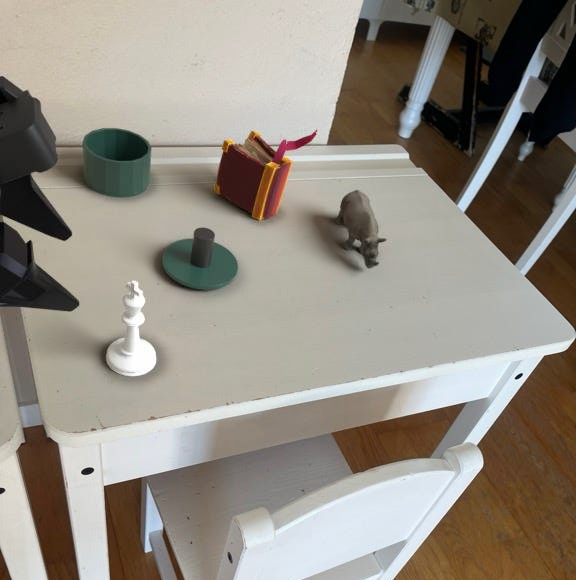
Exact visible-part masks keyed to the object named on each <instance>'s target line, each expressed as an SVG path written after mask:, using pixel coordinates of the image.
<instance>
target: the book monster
mask: <svg viewBox="0 0 576 580" xmlns="http://www.w3.org/2000/svg"><path fill="white" fill-rule="evenodd" d="M318 131H319V130H318V129H315V130H314V131H313V132H312V134H309V135H306V136H303V137H301V138H298V139H296V140H288V141H287V139H286V138H285V139H282V140H281V142H280V144H279V146H278V148H277V150H275V149H274V148H272V147H271V146H270V144H268V143H267V142H266V141H265V140H264V139H263V138H262V137H261V134H260V132H258V131H255V130H250V132H249V134H248V136H247V138H246V139H245V140H244V144H243V145H242V144H241V143H238V144H237V143H235V141H233V140H232V139H230V138H227V139H226V138H225V139H223V143H222V145H221V150H222V154H221V157H220V162H219V165H218V169H217V175H216V182H214V185H213V187H214V188H213V189H214V193H216V194H217V195H222V196H223V197H224V198H226V199H227V200H229V201H230V202H231V203H233V204H235V205H236V206H237V207H239V208H241V209H243V210H244V211H247V212H249V213H251V218H254V219H256V220H258V221H261V220H268V219H270V218H271V217H274V216H276V215H277V212H278V211H279V208H280V205H281V201H282V198H283V195H284V191H285V188H286V185H287V181H288V178H289V176H290V172H291V168H292V165H293V160H291V159H290V158H289V157H288V156H285V153H286V152H288V151H294V150H298V149H301V148H303V147H305V146H306V145H308V144H310V143H311V142H312V141H313V140H314V139H315V138H316V136H317V132H318Z"/></svg>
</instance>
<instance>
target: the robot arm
mask: <svg viewBox="0 0 576 580" xmlns="http://www.w3.org/2000/svg"><path fill="white" fill-rule="evenodd" d="M56 142H57V136H56V134H55V133H54V131H53V129H52V127H51V126H50V124H49V122H48V120H47V118H46V117H45V115H44V114H43V112H42V103H41V101H40V99H38V98H36V97H35V96H34V97H33V96H32V95H31V93H30V91H29V90H28V89H26V90H23V89H21V88H20V87H19V86H18V85H16V84H14V83H13V82H12V81H11V80H9V79H8V78H6V77H5V76H3V75H0V216H2V217H5V218H7V219H9V220H10V221H11V220H12V221H13V222H16V223H18V224H20V225H23V226H25V227H28V228H30V229H32V230H34V231H36V232H39V233H40V234H44V235H46V236H49V237H51V238H53V239H57V240H60V241H63V242H66V241H68V240H70V238H71V237H73V231H72V230H71V228H70V227H69V225H68V224H67V223H66V221H65V220H64V219H63V217H62V216H61V215H60V214H59V212H58V211H57V210H56V208H55V207H54V206H53V204H52V203H51V201H50V200H49V199H48V198H47V196H46V195H45V193H44V192H43V191H42V189H41V188H40V186H39V184H37V182H36V180H35V179H34V177H33V176H32V174H34V173H39V174H42V173H44V172H47V171H49V170H51V169H53V168H54V167H55V166H56V164H57V163H58V161H59V155H58V152H57V146H56ZM78 307H80V301H79V299H77V297H76V296H74V294H73V293H71V291H70V290H68V289H67V288H66V287H65V286H63V285H62V284H61V283H60V282H59V281H57V280H56V279H55V278H54V277H53V276H52V275H51V274H49V272H47V271H46V270H44V269H43V268H42V267H40V265H38V264H37V263H36V259H35V252H34V245H33V241H32V240H31V239H29V240H28V241H27V242H26V241H25V240H24V238H23V237H22V236H21V234H20V233H19V232H18V230H16V229H15V228H14V227H12V226H10V224H8V223H7V222H5V221H0V308H25V309H27V308H29V309H38V310H49V311H56V312H57V311H59V312H68V313H69V312H70V313H71V312H73V311H74V310H76V309H77V308H78Z"/></svg>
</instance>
